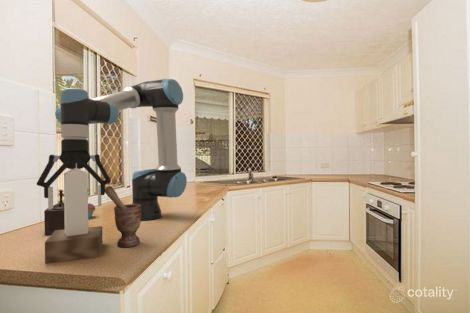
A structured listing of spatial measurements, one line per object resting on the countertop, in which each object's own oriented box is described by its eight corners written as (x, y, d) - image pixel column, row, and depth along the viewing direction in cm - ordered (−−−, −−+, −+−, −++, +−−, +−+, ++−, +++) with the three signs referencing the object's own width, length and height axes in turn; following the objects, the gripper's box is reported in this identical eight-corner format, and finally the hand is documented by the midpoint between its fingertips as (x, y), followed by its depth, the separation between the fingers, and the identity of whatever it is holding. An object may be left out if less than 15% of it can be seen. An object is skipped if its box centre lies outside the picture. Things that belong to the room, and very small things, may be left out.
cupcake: (99, 217, 143) (98, 192, 143) (82, 220, 136) (81, 195, 136) (89, 215, 148) (88, 191, 148) (72, 218, 141) (71, 193, 141)
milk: (66, 237, 88) (64, 163, 87) (64, 232, 93) (63, 163, 92) (88, 233, 91) (87, 162, 91) (86, 229, 96) (84, 162, 96)
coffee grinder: (43, 236, 111) (42, 188, 111) (48, 229, 121) (47, 185, 121) (88, 231, 117) (88, 186, 117) (90, 225, 127) (89, 184, 127)
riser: (102, 243, 101) (102, 226, 101) (99, 256, 88) (99, 236, 88) (55, 248, 96) (55, 230, 96) (45, 263, 83) (44, 242, 83)
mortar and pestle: (104, 251, 93) (104, 188, 93) (104, 243, 101) (104, 185, 101) (142, 246, 98) (142, 186, 97) (139, 239, 105) (139, 183, 105)
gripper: (118, 140, 99) (118, 202, 100) (31, 139, 90) (32, 208, 91) (117, 138, 92) (118, 206, 93) (23, 137, 83) (24, 212, 84)
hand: (76, 207), depth 92 cm, fingers open, 13 cm apart
